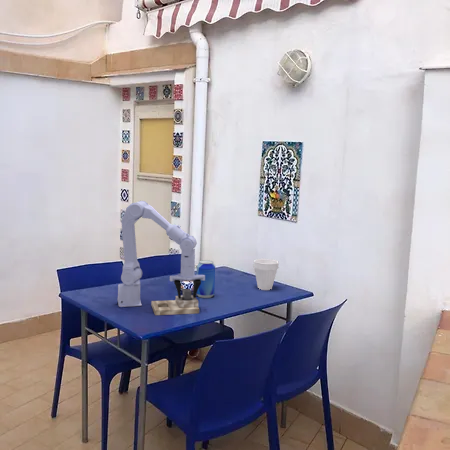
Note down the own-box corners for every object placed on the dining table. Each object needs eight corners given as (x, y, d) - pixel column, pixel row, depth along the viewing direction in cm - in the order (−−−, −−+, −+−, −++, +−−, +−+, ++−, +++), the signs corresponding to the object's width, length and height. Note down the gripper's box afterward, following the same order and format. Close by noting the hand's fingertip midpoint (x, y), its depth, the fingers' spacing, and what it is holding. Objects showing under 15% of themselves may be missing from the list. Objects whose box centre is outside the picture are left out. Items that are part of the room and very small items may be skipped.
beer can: (198, 298, 231) (199, 263, 229) (194, 293, 239) (195, 259, 237) (216, 298, 233) (217, 263, 231) (211, 293, 241) (213, 259, 239)
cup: (278, 292, 247) (279, 264, 245) (252, 291, 247) (254, 263, 245) (276, 285, 259) (277, 259, 257) (251, 284, 259) (253, 258, 257)
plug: (183, 305, 213) (184, 291, 213) (182, 303, 217) (182, 289, 216) (191, 305, 214) (191, 291, 213) (189, 302, 218) (189, 288, 217)
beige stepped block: (155, 315, 206) (155, 304, 206) (151, 305, 219) (151, 295, 218) (199, 313, 211) (199, 302, 210) (192, 303, 223) (193, 293, 223)
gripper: (171, 268, 208) (171, 300, 210) (207, 267, 211) (205, 299, 213) (169, 264, 214) (168, 295, 216) (203, 263, 218) (202, 294, 220)
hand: (186, 297), depth 215 cm, fingers open, 6 cm apart
